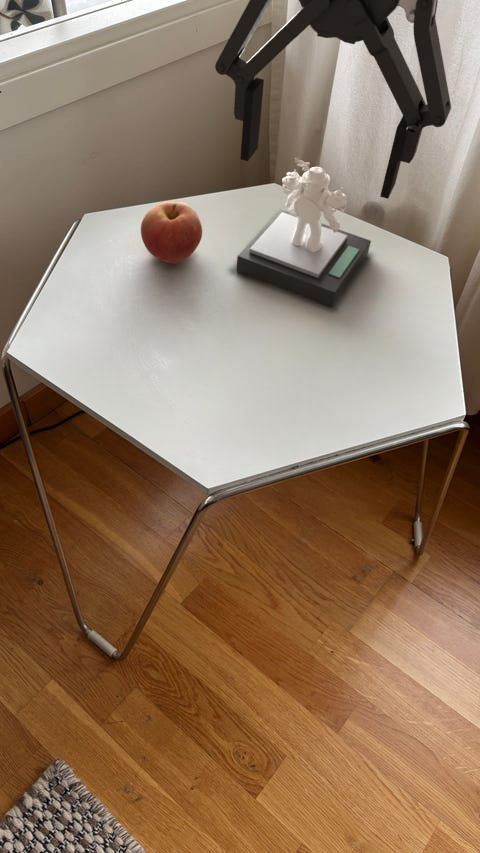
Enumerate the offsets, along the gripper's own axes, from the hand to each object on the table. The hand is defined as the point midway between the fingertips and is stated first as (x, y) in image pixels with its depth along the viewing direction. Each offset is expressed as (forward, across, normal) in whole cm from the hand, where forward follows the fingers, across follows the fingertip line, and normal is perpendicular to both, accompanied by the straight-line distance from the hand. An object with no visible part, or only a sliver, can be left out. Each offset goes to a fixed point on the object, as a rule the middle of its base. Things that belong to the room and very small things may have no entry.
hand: (317, 172), depth 66 cm
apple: (+25, +21, -12) cm, 35 cm away
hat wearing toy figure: (+22, +4, -19) cm, 29 cm away
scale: (+25, +4, -19) cm, 31 cm away
